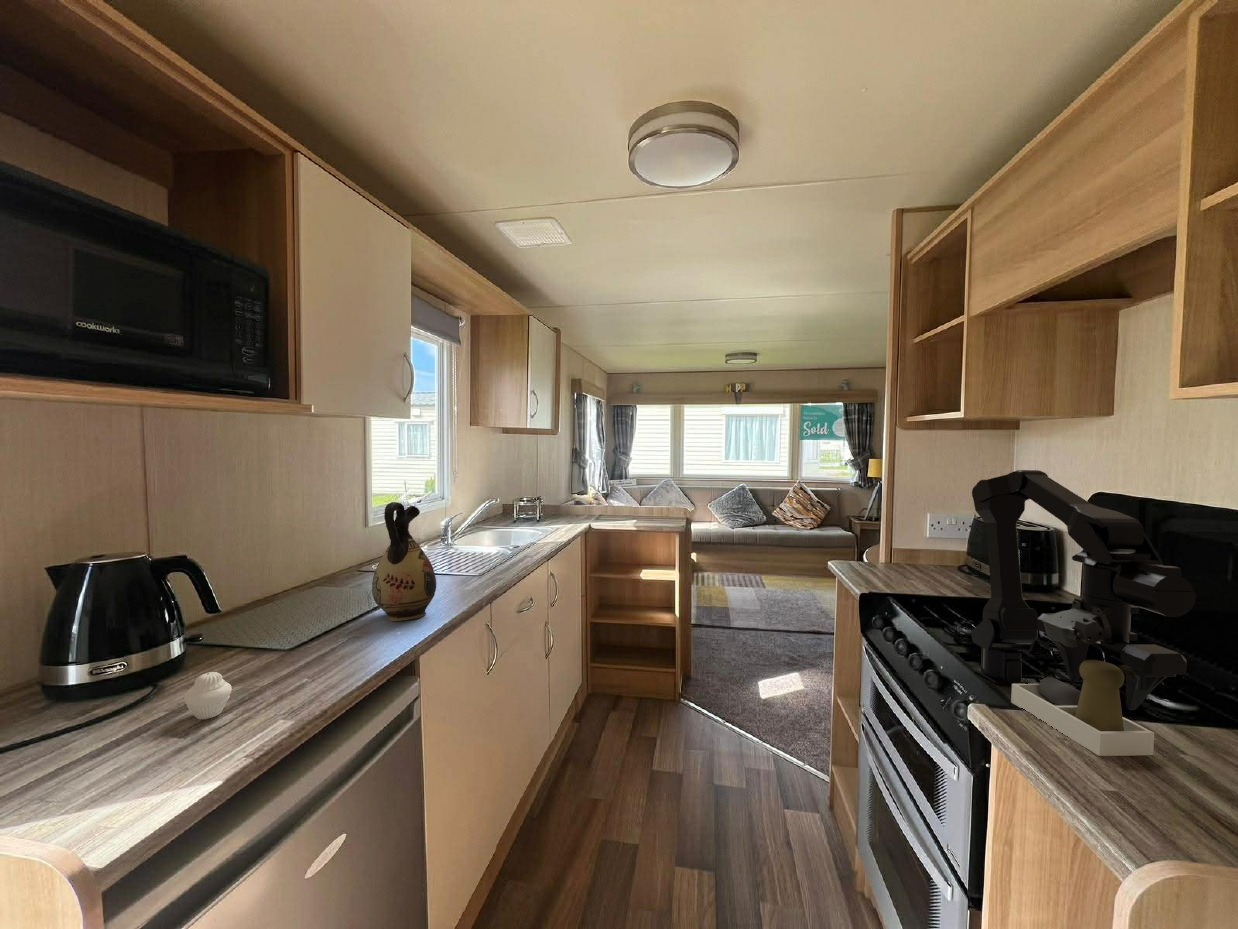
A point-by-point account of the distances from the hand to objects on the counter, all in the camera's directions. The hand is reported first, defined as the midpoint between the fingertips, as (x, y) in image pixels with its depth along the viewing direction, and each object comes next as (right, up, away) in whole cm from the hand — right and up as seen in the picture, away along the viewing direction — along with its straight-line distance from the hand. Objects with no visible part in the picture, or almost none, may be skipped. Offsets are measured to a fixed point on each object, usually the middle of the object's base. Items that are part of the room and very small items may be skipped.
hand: (1101, 694), depth 82 cm
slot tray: (0, -7, +4) cm, 8 cm away
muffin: (-143, -5, +4) cm, 143 cm away
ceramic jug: (-131, -4, +53) cm, 142 cm away
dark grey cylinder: (+1, -4, +8) cm, 9 cm away
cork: (0, -6, 0) cm, 6 cm away
